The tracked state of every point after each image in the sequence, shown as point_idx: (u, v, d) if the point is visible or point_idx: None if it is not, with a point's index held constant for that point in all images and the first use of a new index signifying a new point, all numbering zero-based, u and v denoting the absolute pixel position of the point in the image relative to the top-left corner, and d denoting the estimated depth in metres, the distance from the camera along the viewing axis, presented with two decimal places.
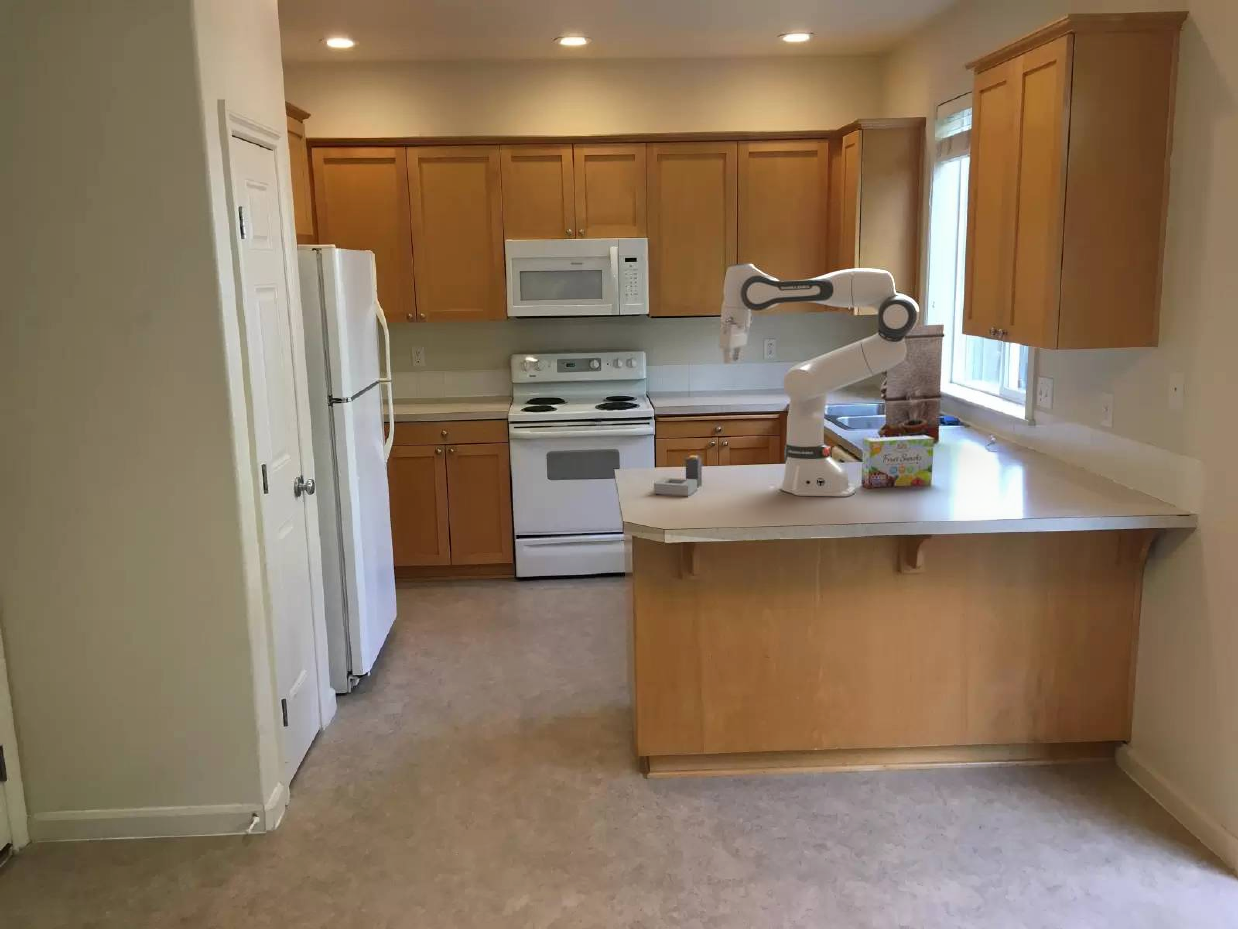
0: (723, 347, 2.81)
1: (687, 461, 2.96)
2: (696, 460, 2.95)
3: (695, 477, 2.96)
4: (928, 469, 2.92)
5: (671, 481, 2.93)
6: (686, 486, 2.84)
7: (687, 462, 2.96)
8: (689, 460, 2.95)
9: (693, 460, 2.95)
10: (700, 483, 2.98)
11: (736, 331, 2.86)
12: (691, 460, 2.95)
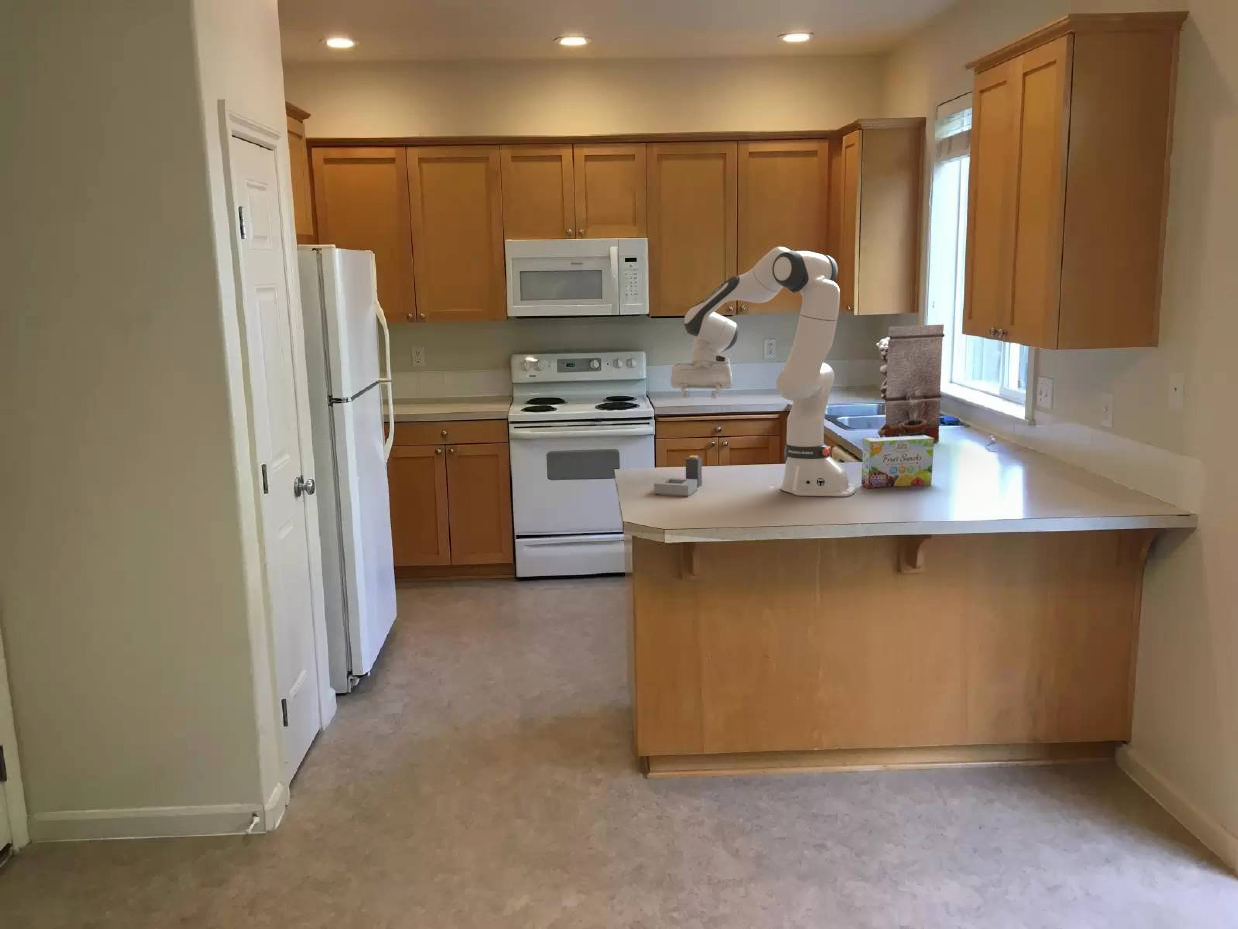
0: (671, 384, 3.10)
1: (687, 461, 2.96)
2: (696, 460, 2.95)
3: (695, 477, 2.96)
4: (928, 469, 2.92)
5: (671, 481, 2.93)
6: (686, 486, 2.84)
7: (687, 462, 2.96)
8: (689, 460, 2.95)
9: (693, 460, 2.95)
10: (700, 483, 2.98)
11: (693, 370, 3.10)
12: (691, 460, 2.95)
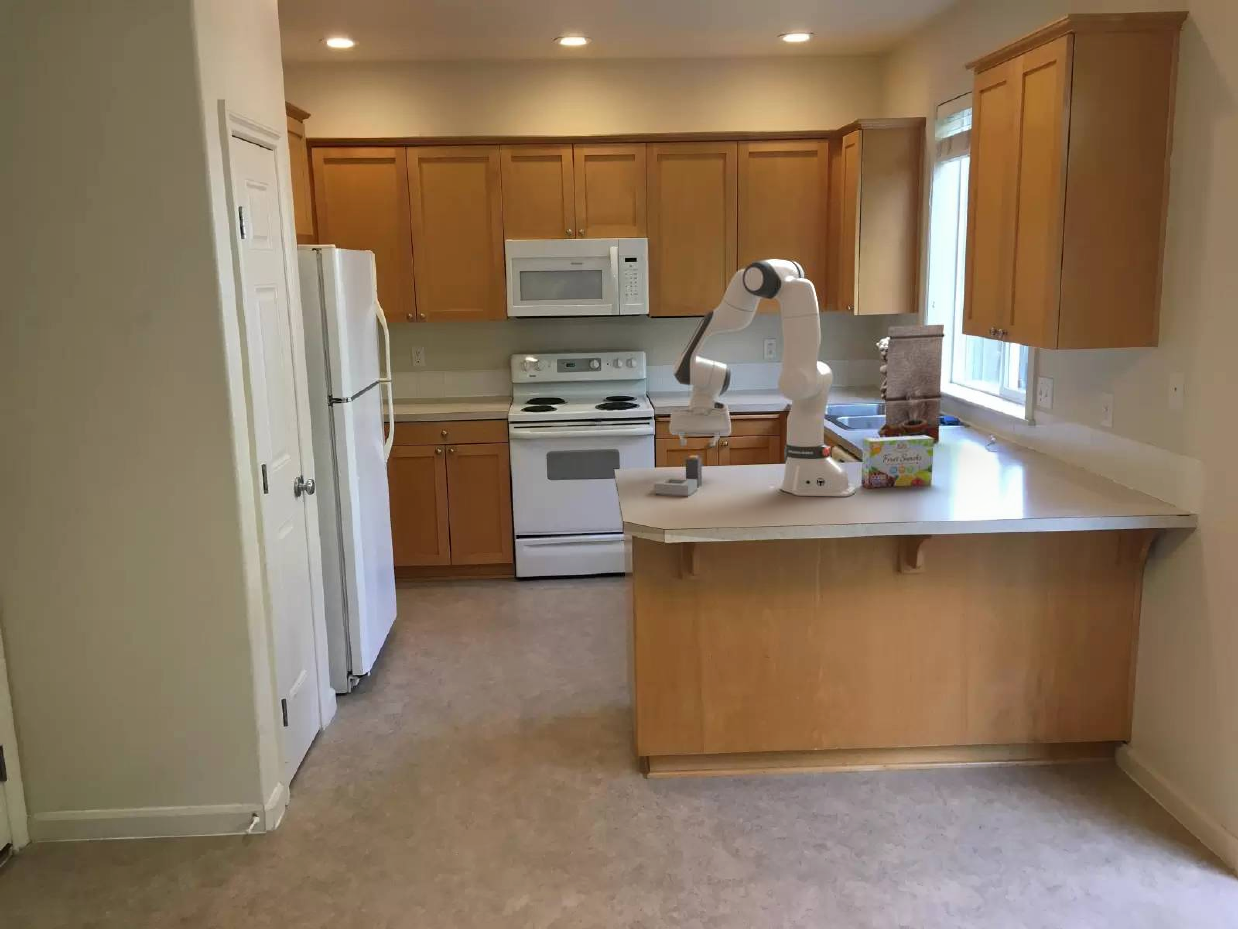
0: None
1: (687, 461, 2.96)
2: (696, 460, 2.95)
3: (695, 477, 2.96)
4: (928, 469, 2.92)
5: (671, 481, 2.93)
6: (686, 486, 2.84)
7: (687, 462, 2.96)
8: (689, 460, 2.95)
9: (693, 460, 2.95)
10: (700, 483, 2.98)
11: (691, 417, 3.09)
12: (691, 460, 2.95)
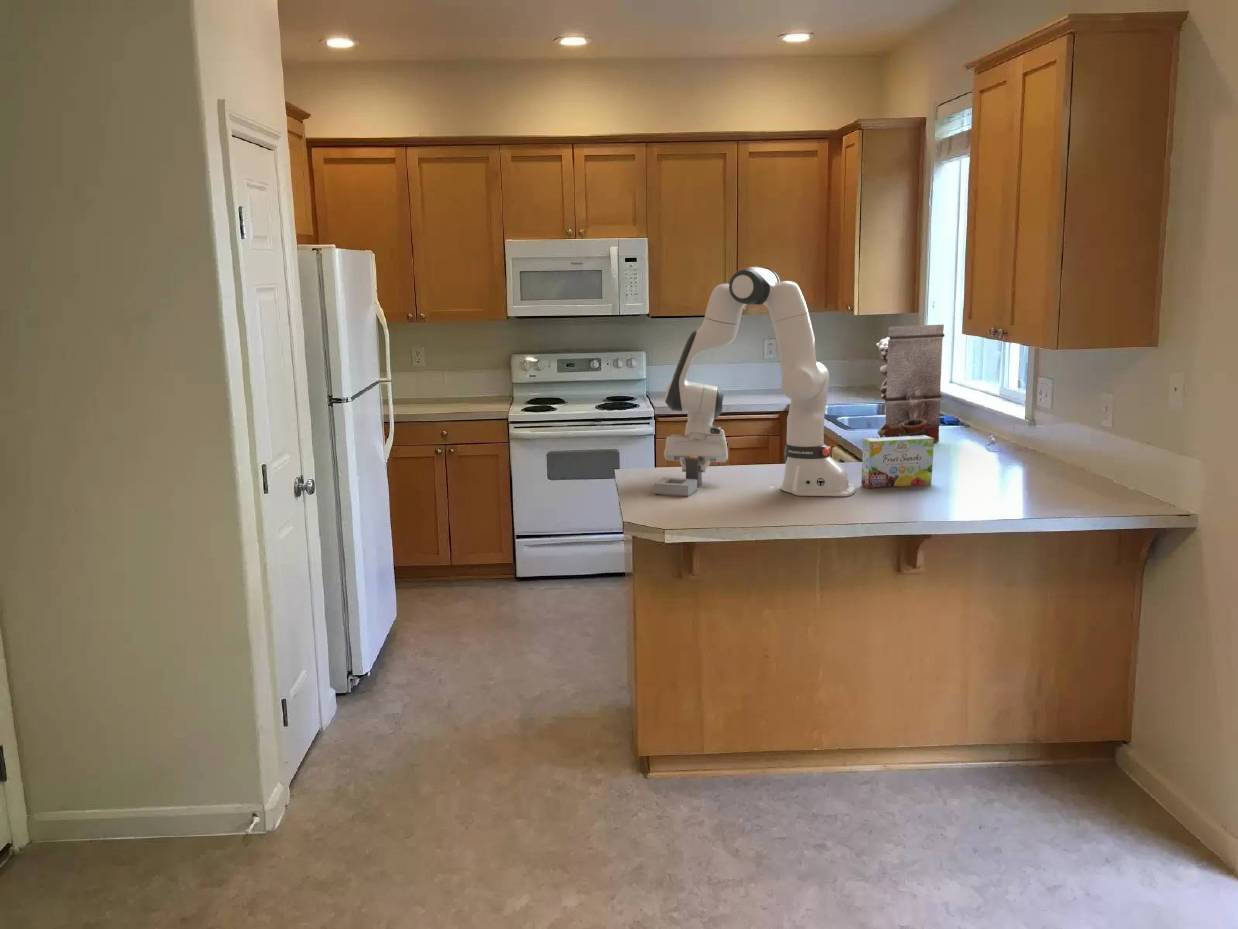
0: (665, 456, 3.02)
1: (687, 461, 2.96)
2: (696, 460, 2.95)
3: (695, 477, 2.96)
4: (928, 469, 2.92)
5: (671, 481, 2.93)
6: (686, 486, 2.84)
7: (687, 462, 2.96)
8: (689, 460, 2.95)
9: (693, 460, 2.95)
10: (700, 483, 2.98)
11: (687, 442, 3.02)
12: (691, 460, 2.95)
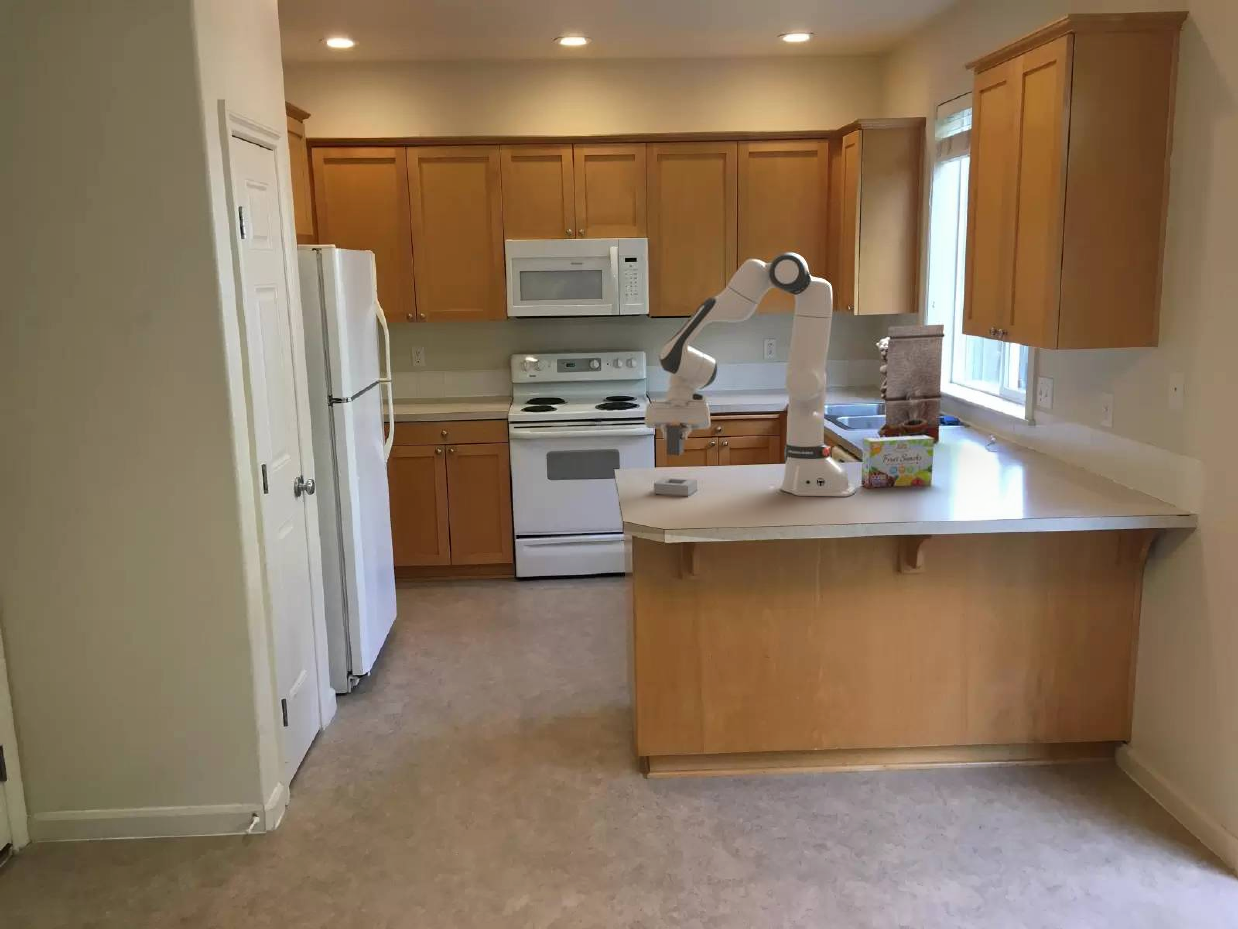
0: (645, 424, 2.91)
1: (668, 428, 2.85)
2: (677, 426, 2.84)
3: (676, 444, 2.85)
4: (928, 469, 2.92)
5: (671, 481, 2.93)
6: (686, 486, 2.84)
7: (668, 429, 2.85)
8: (670, 427, 2.84)
9: (674, 426, 2.84)
10: (682, 451, 2.87)
11: (668, 409, 2.91)
12: (672, 426, 2.84)
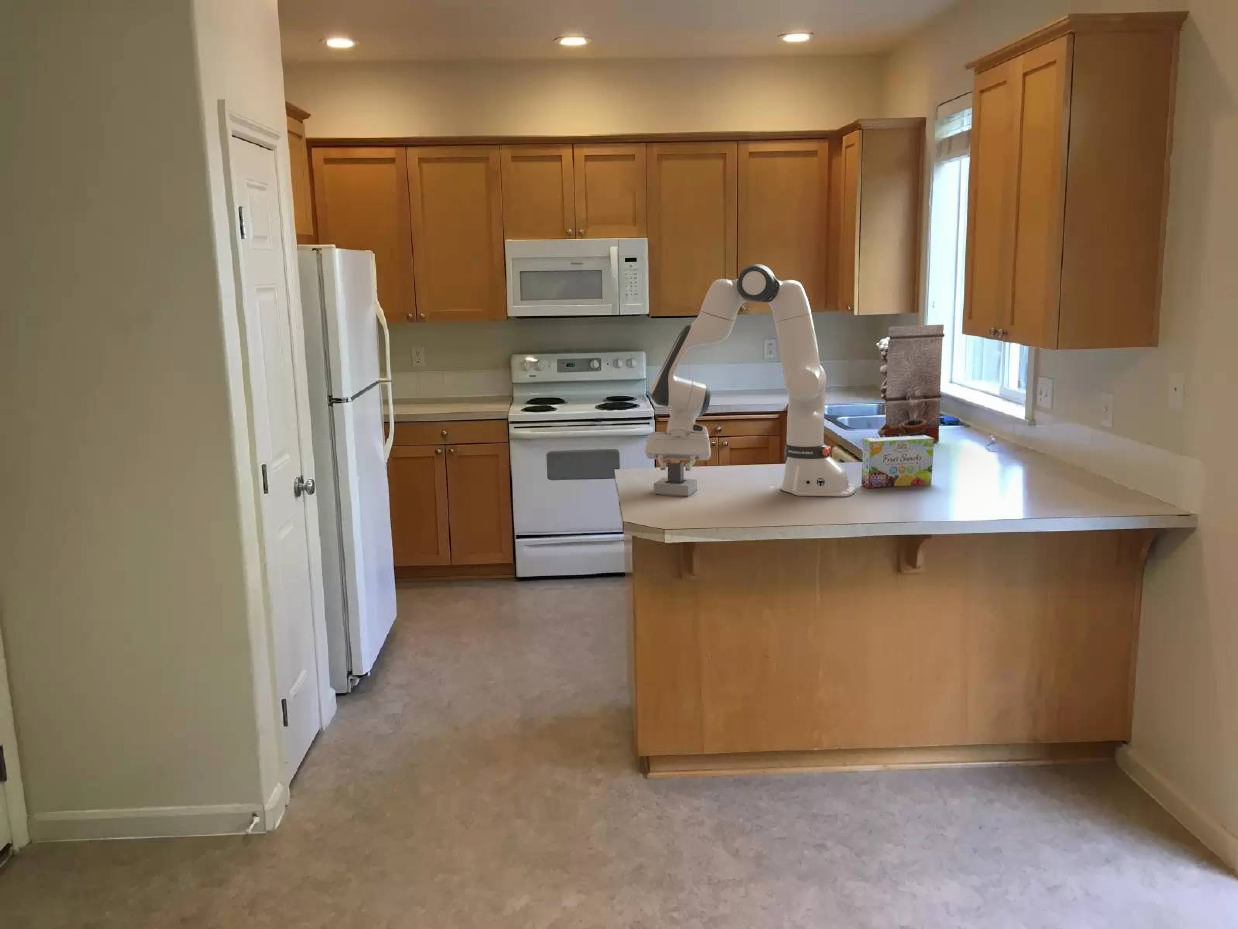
0: (646, 454, 2.93)
1: (669, 465, 2.87)
2: (678, 464, 2.86)
3: (677, 482, 2.87)
4: (928, 469, 2.92)
5: None
6: (686, 486, 2.84)
7: (669, 466, 2.87)
8: (671, 464, 2.87)
9: (675, 464, 2.86)
10: None
11: (668, 440, 2.93)
12: (673, 464, 2.86)
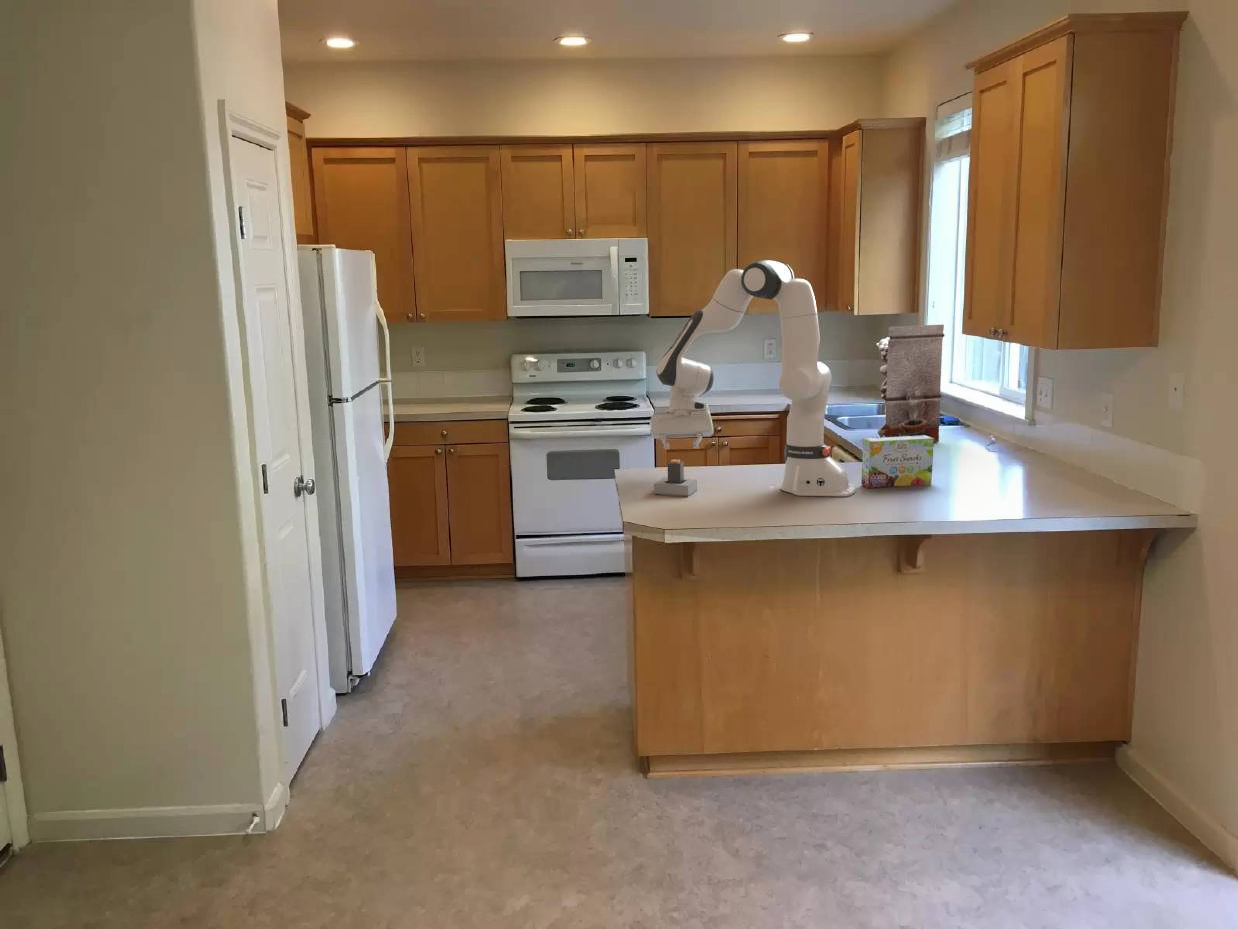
0: (651, 435, 3.05)
1: (669, 465, 2.87)
2: (678, 464, 2.86)
3: (677, 482, 2.87)
4: (928, 469, 2.92)
5: None
6: (686, 486, 2.84)
7: (669, 466, 2.87)
8: (671, 464, 2.87)
9: (675, 464, 2.86)
10: None
11: (672, 419, 3.04)
12: (673, 464, 2.86)
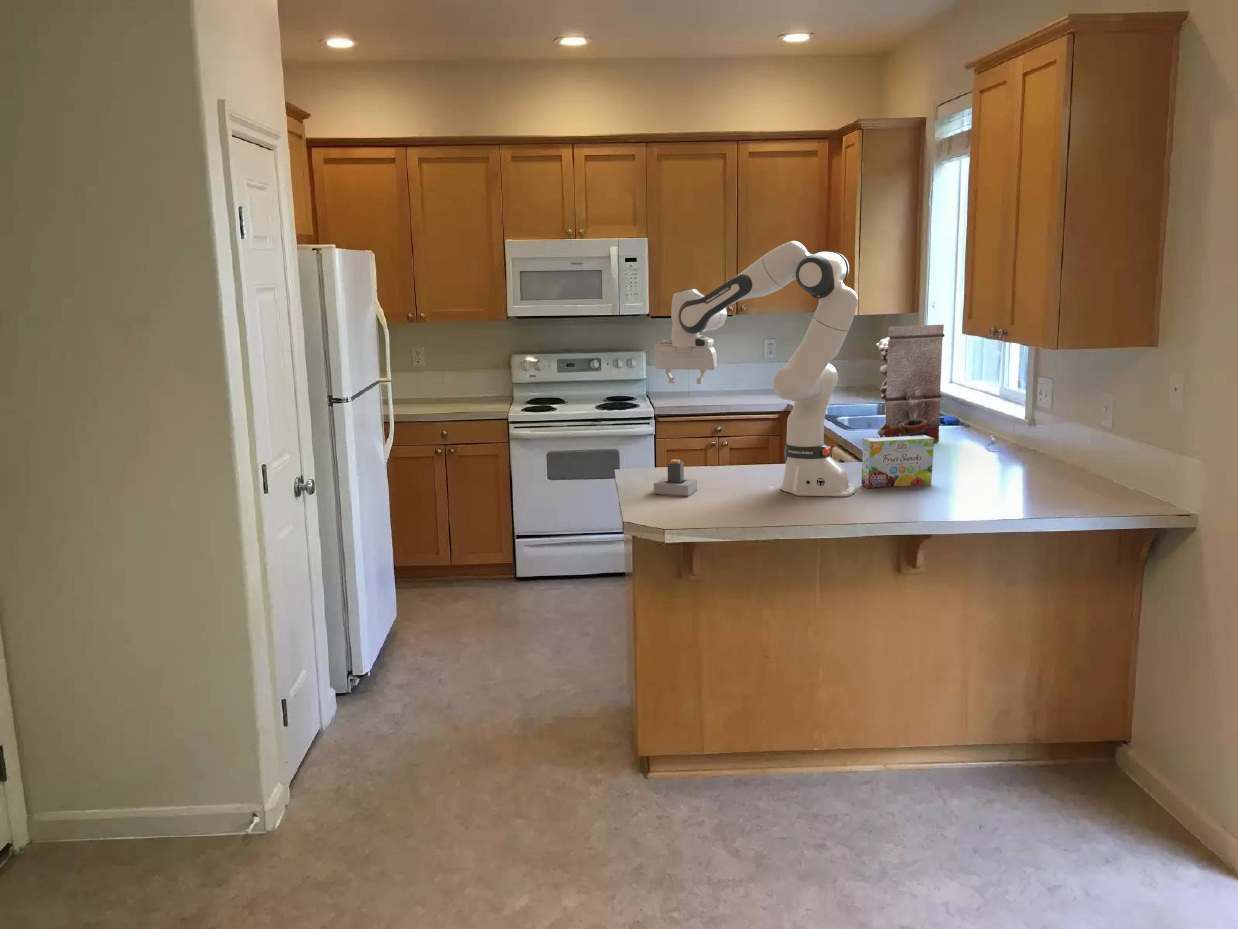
0: None
1: (669, 465, 2.87)
2: (678, 464, 2.86)
3: (677, 482, 2.87)
4: (928, 469, 2.92)
5: None
6: (686, 486, 2.84)
7: (669, 466, 2.87)
8: (671, 464, 2.87)
9: (675, 464, 2.86)
10: None
11: (675, 353, 3.02)
12: (673, 464, 2.86)
